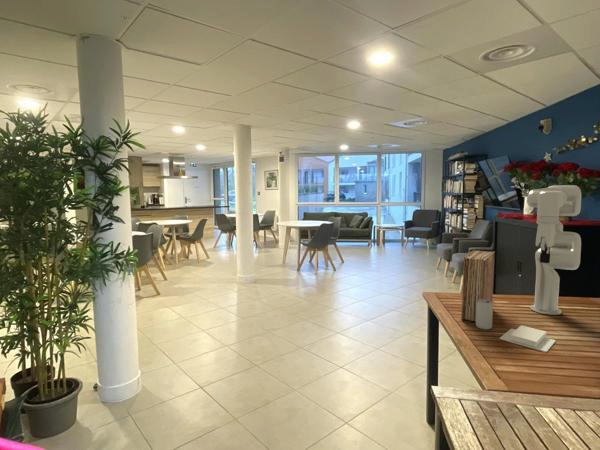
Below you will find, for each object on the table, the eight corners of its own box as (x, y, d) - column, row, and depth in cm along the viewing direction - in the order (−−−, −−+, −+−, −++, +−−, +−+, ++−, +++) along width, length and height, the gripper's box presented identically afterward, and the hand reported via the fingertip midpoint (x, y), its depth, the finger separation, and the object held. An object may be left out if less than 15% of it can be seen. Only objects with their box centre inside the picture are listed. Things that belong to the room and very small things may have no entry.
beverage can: (494, 330, 148) (495, 303, 147) (477, 329, 150) (479, 303, 148) (489, 325, 154) (490, 299, 153) (473, 324, 156) (474, 298, 155)
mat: (511, 329, 150) (511, 328, 150) (555, 341, 138) (555, 340, 138) (499, 339, 140) (499, 338, 140) (546, 352, 128) (546, 351, 128)
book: (482, 324, 155) (486, 259, 152) (460, 320, 161) (463, 257, 158) (492, 308, 175) (495, 250, 172) (472, 305, 181) (474, 249, 178)
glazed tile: (521, 325, 147) (510, 334, 138) (546, 331, 141) (536, 341, 131) (520, 330, 148) (509, 340, 138) (545, 336, 141) (536, 347, 132)
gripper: (541, 218, 155) (539, 258, 156) (532, 221, 145) (529, 263, 147) (562, 219, 149) (559, 261, 151) (553, 222, 139) (550, 266, 141)
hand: (544, 262), depth 149 cm, fingers closed
